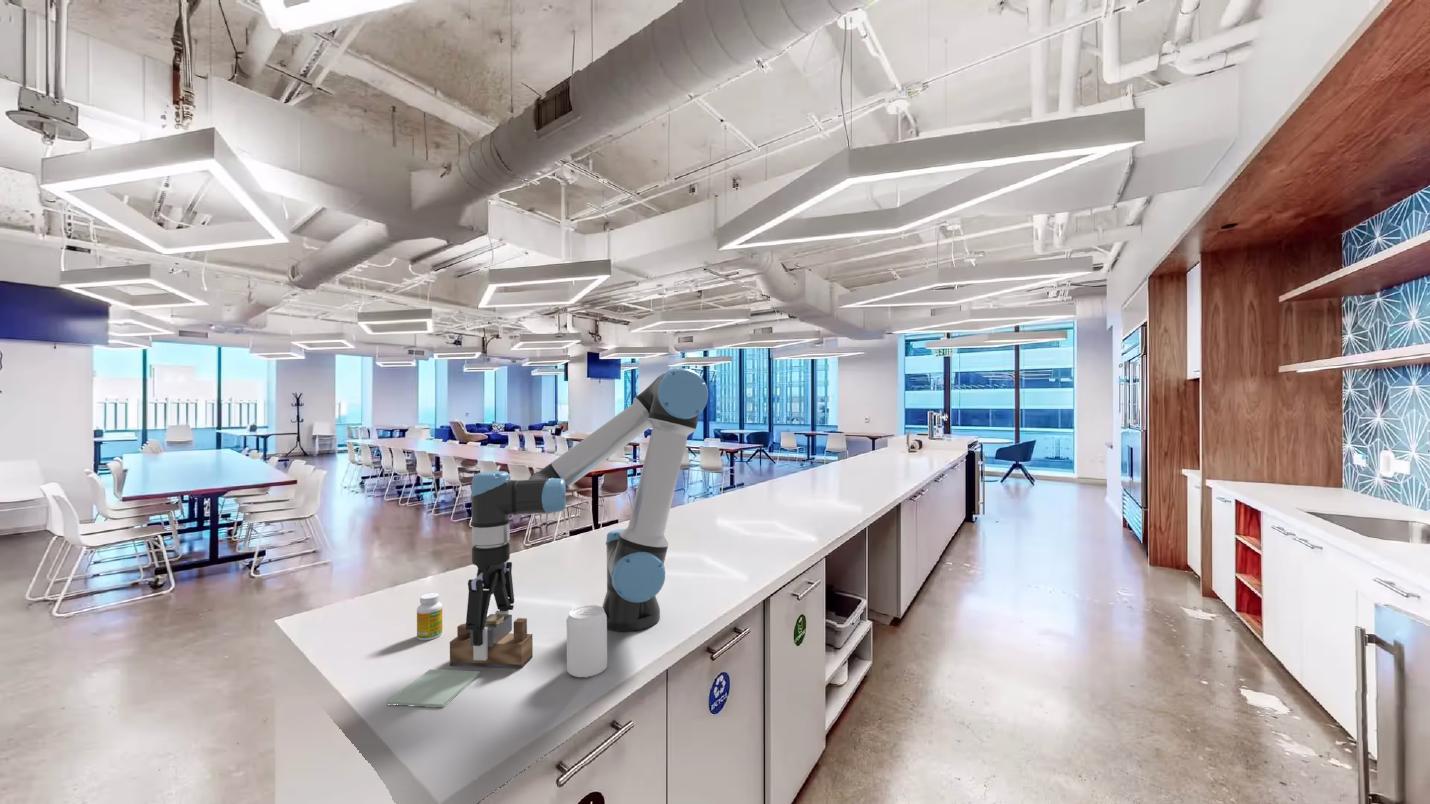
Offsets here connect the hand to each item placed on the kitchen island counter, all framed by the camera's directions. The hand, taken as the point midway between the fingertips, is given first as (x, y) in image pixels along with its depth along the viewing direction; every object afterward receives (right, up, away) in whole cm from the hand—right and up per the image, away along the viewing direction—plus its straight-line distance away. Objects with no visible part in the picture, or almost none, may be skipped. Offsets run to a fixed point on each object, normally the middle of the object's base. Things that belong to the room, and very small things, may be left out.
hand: (491, 649), depth 112 cm
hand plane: (0, -3, 0) cm, 3 cm away
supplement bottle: (-21, -3, +13) cm, 25 cm away
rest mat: (-6, -2, -11) cm, 13 cm away
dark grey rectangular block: (0, +2, 0) cm, 2 cm away
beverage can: (+22, -2, -4) cm, 22 cm away
